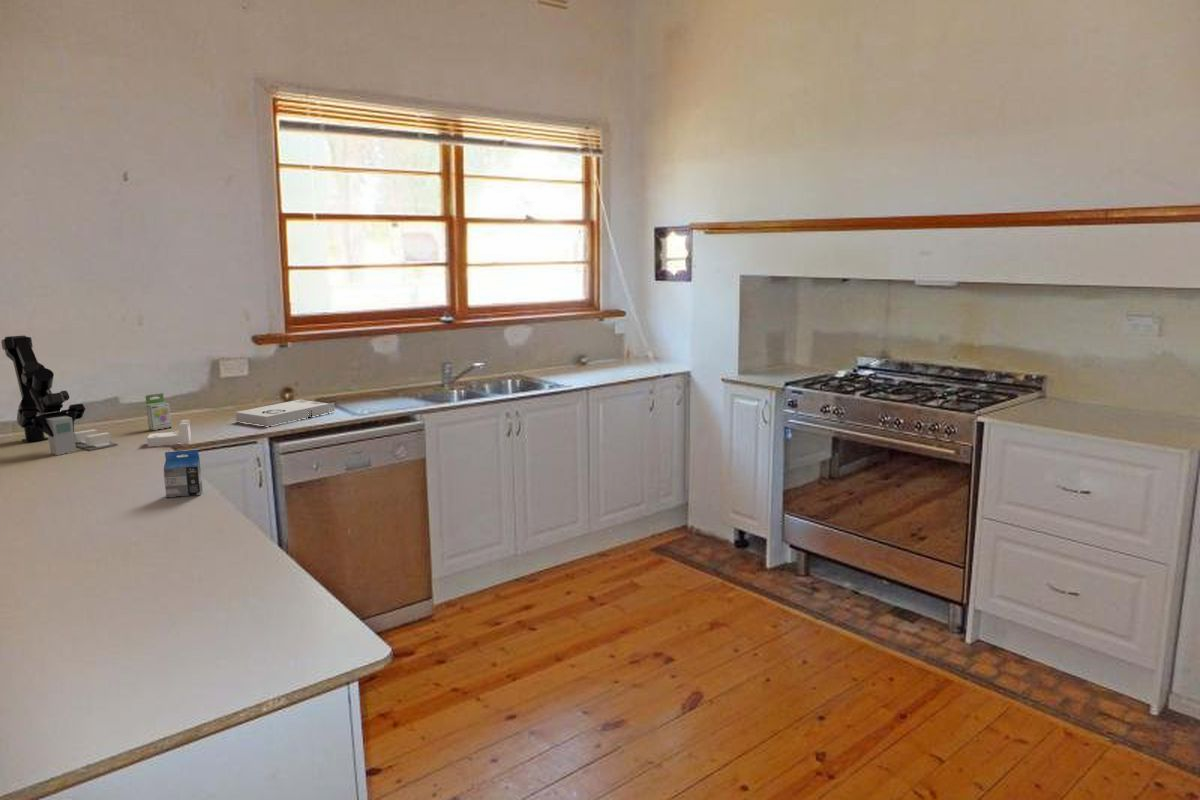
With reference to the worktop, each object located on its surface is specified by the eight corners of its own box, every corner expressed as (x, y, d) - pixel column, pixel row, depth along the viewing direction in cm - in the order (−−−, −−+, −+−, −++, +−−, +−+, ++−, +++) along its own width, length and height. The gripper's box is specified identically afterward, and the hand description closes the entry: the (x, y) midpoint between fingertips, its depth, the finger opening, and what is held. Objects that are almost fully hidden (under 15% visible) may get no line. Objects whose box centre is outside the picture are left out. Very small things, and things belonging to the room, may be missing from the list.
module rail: (67, 444, 295) (66, 432, 295) (94, 439, 303) (93, 427, 302) (90, 450, 286) (88, 438, 285) (117, 445, 293) (116, 433, 292)
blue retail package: (165, 498, 230) (161, 455, 228) (169, 494, 234) (164, 451, 232) (200, 495, 232) (196, 452, 230) (203, 491, 236) (199, 449, 234)
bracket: (191, 440, 301) (189, 419, 300) (189, 444, 295) (187, 423, 293) (150, 443, 297) (148, 422, 295) (148, 448, 290) (145, 426, 289)
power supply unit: (335, 414, 347) (334, 402, 346) (267, 429, 320) (266, 416, 319) (304, 410, 357) (303, 398, 356) (236, 424, 329) (235, 412, 328)
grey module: (51, 453, 282) (46, 419, 280) (70, 450, 287) (65, 416, 285) (57, 455, 279) (52, 420, 277) (76, 452, 284) (72, 417, 282)
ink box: (153, 431, 315) (149, 396, 313) (148, 430, 318) (144, 395, 315) (172, 428, 321) (168, 393, 318) (167, 426, 323) (163, 392, 321)
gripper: (18, 388, 274) (37, 424, 269) (79, 380, 288) (98, 415, 284) (11, 409, 279) (30, 445, 275) (71, 400, 294) (90, 434, 290)
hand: (63, 434), depth 281 cm, fingers closed on grey module, 6 cm apart
